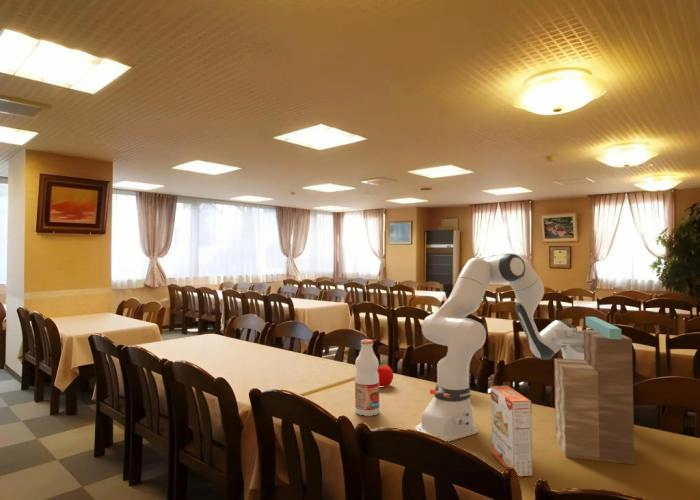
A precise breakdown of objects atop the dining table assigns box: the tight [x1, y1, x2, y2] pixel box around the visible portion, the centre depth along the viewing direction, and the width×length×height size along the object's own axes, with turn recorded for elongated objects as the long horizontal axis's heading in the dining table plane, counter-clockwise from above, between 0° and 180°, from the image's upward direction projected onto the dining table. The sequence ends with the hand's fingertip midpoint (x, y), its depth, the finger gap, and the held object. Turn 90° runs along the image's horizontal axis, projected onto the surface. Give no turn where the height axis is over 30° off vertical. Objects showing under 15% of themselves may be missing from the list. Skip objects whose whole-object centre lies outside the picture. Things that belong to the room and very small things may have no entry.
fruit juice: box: [354, 338, 380, 417], centre depth 164 cm, size 9×9×28 cm
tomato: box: [377, 363, 394, 387], centre depth 197 cm, size 12×12×10 cm
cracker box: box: [490, 385, 534, 478], centre depth 121 cm, size 14×6×21 cm, turn 5°
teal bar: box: [584, 316, 622, 339], centre depth 134 cm, size 26×3×3 cm, turn 164°
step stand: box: [553, 329, 635, 465], centre depth 131 cm, size 15×18×36 cm
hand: (589, 330), depth 148 cm, fingers open, 8 cm apart
